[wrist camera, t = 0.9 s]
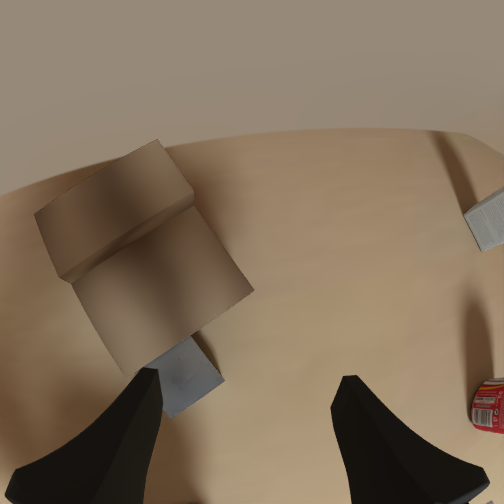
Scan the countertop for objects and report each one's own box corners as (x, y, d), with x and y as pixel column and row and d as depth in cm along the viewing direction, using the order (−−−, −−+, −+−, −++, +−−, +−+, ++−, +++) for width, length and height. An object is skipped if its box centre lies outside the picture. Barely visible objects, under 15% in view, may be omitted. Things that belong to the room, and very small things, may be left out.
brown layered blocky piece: (139, 369, 21) (118, 381, 14) (69, 246, 22) (33, 214, 16) (242, 300, 24) (261, 284, 17) (163, 186, 25) (157, 138, 19)
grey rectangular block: (172, 410, 20) (170, 419, 18) (120, 339, 21) (111, 339, 19) (221, 376, 22) (225, 380, 20) (169, 305, 23) (166, 301, 20)
